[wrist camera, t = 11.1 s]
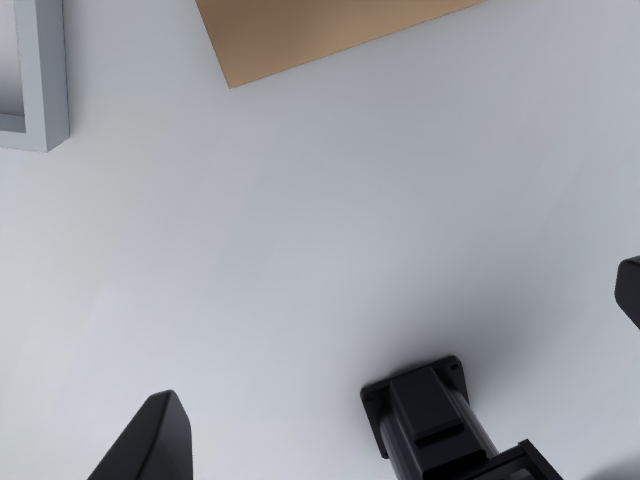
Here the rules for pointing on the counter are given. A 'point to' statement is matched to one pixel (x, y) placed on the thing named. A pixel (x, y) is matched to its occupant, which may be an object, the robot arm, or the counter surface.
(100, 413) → the counter surface
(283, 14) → the walnut board
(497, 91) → the counter surface
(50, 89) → the grey box
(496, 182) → the counter surface
